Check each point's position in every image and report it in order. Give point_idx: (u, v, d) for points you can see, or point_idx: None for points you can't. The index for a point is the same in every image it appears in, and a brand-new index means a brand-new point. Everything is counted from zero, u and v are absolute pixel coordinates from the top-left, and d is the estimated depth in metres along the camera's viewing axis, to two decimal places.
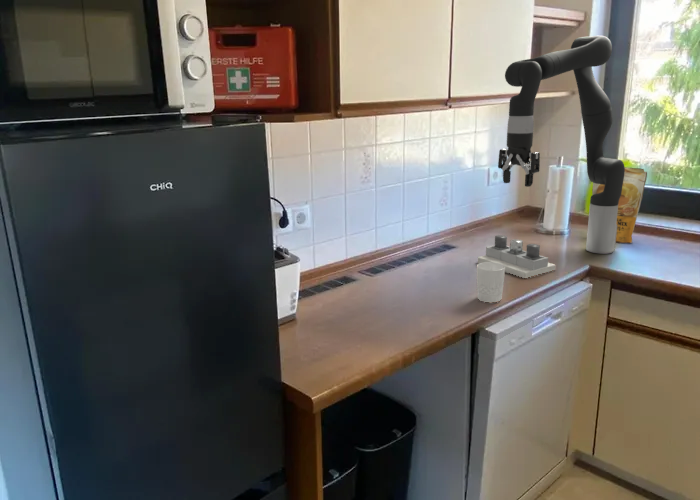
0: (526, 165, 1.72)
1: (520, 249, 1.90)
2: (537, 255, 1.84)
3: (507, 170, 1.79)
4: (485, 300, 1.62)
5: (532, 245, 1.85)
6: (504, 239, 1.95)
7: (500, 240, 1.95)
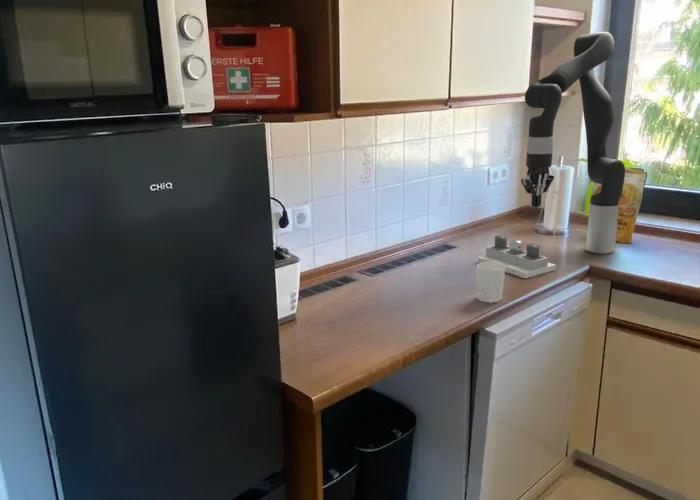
0: None
1: (520, 249, 1.90)
2: (537, 255, 1.84)
3: None
4: (485, 300, 1.62)
5: (532, 245, 1.85)
6: (504, 239, 1.95)
7: (500, 240, 1.95)
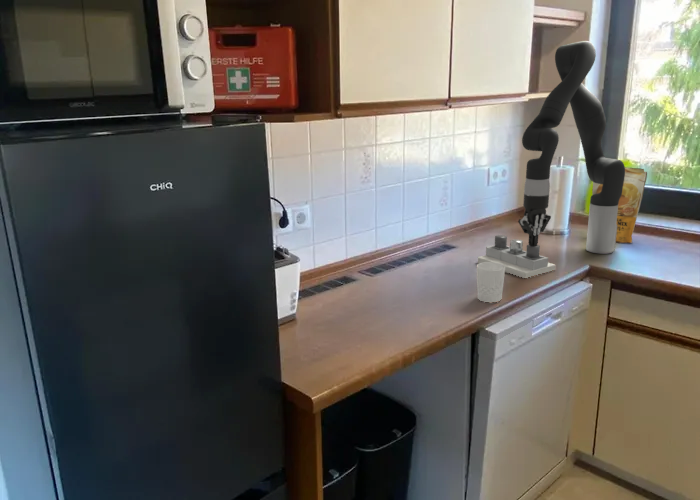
0: None
1: (520, 249, 1.90)
2: (537, 255, 1.84)
3: None
4: (485, 300, 1.62)
5: None
6: (504, 239, 1.95)
7: (500, 240, 1.95)
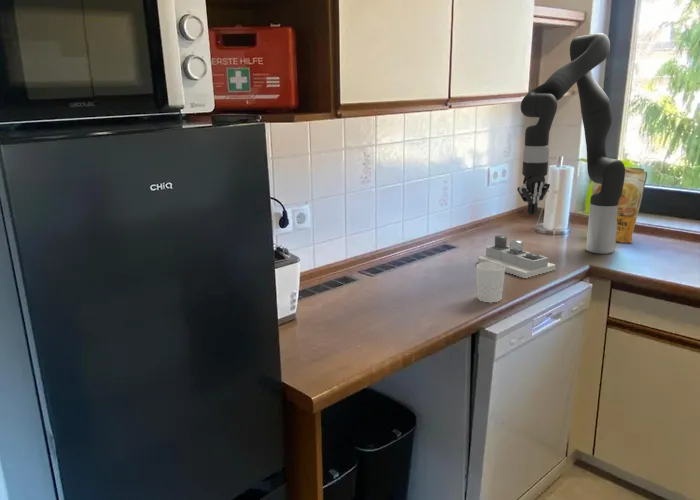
0: None
1: (520, 249, 1.90)
2: None
3: None
4: (485, 300, 1.62)
5: (531, 254, 1.86)
6: (504, 239, 1.95)
7: (500, 240, 1.95)
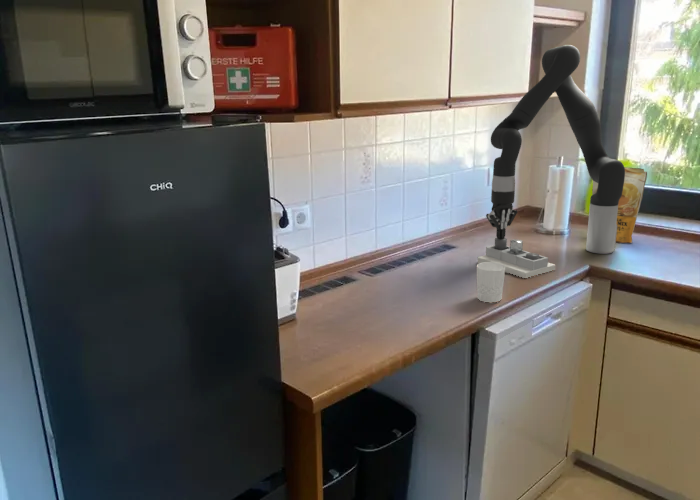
0: None
1: (520, 249, 1.90)
2: None
3: None
4: (485, 300, 1.62)
5: (531, 254, 1.86)
6: (504, 241, 1.95)
7: (500, 242, 1.95)
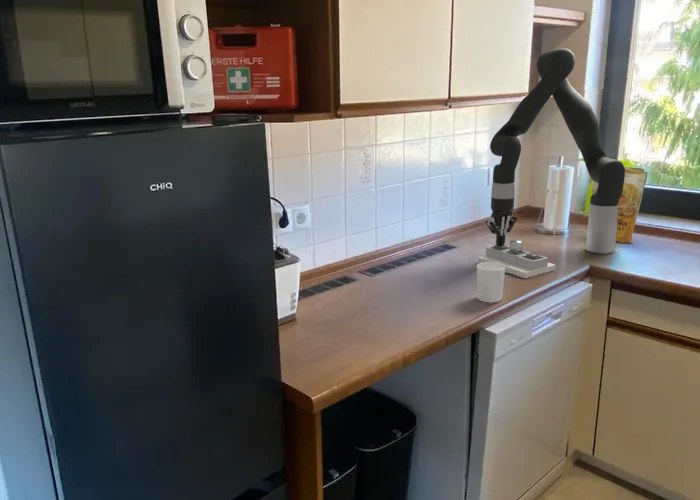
0: None
1: (520, 249, 1.90)
2: None
3: None
4: (485, 300, 1.62)
5: (531, 254, 1.86)
6: (504, 248, 1.96)
7: (500, 249, 1.96)
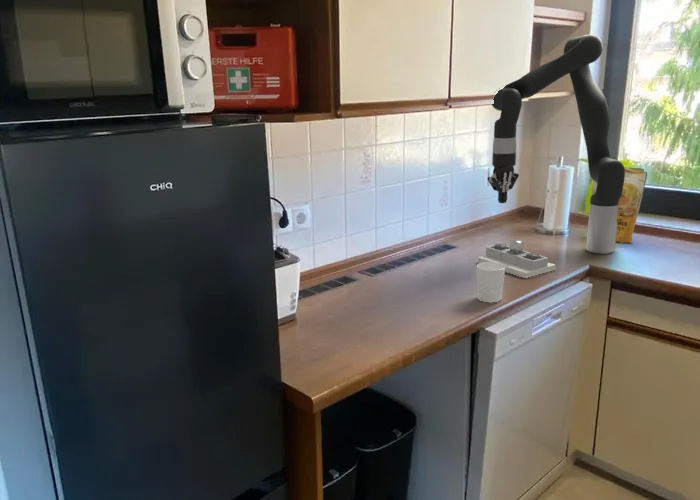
0: None
1: (520, 249, 1.90)
2: None
3: None
4: (485, 300, 1.62)
5: (531, 254, 1.86)
6: (504, 248, 1.96)
7: (500, 249, 1.96)
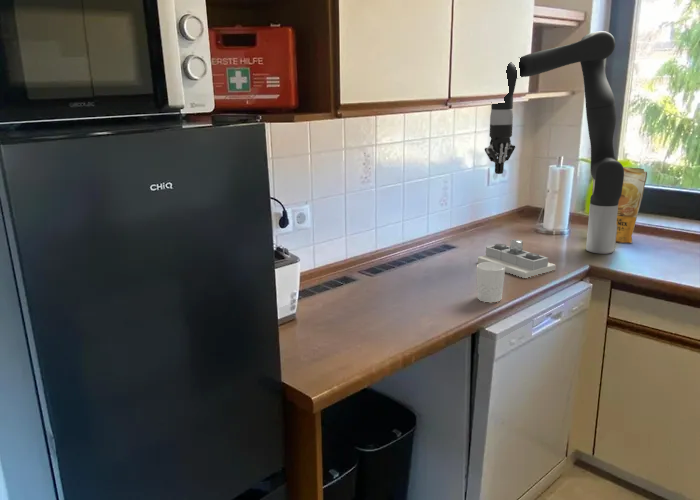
0: None
1: (520, 249, 1.90)
2: None
3: None
4: (485, 300, 1.62)
5: (531, 254, 1.86)
6: (504, 248, 1.96)
7: (500, 249, 1.96)
